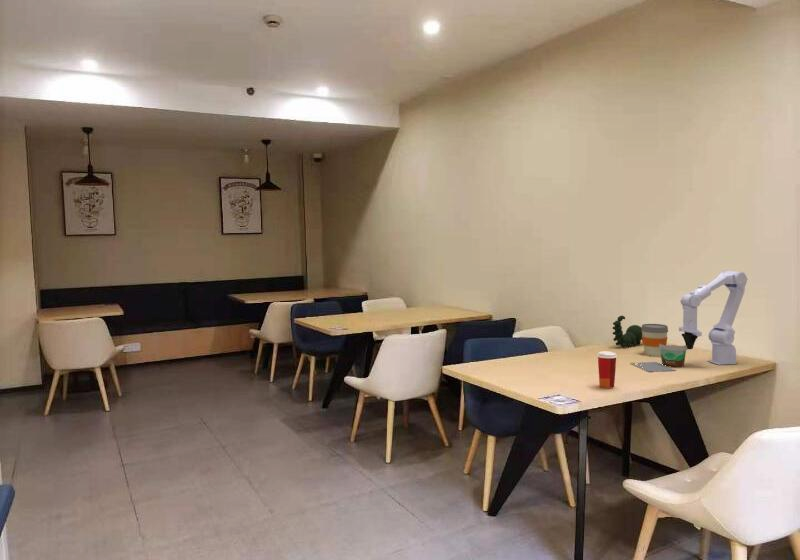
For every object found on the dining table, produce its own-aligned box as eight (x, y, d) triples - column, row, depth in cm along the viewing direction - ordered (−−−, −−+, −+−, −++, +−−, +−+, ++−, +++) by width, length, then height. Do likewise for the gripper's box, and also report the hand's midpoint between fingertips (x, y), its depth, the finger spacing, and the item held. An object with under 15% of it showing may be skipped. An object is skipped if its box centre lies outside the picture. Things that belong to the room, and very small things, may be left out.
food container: (657, 366, 261) (657, 345, 260) (658, 363, 266) (658, 343, 265) (687, 368, 255) (687, 347, 254) (687, 365, 260) (687, 344, 260)
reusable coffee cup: (635, 353, 289) (635, 325, 288) (652, 351, 294) (653, 322, 293) (655, 358, 278) (656, 328, 276) (673, 355, 283) (673, 326, 282)
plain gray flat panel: (655, 362, 269) (655, 361, 269) (675, 370, 252) (675, 370, 252) (629, 363, 268) (629, 362, 268) (648, 372, 251) (648, 371, 251)
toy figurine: (624, 353, 299) (651, 343, 312) (622, 318, 296) (650, 309, 310) (609, 350, 307) (636, 340, 320) (607, 316, 304) (634, 308, 318)
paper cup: (612, 383, 233) (612, 350, 232) (620, 388, 225) (620, 354, 224) (593, 384, 233) (593, 351, 232) (600, 389, 225) (601, 355, 224)
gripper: (673, 318, 266) (672, 346, 267) (691, 322, 251) (690, 352, 253) (687, 317, 266) (686, 345, 268) (706, 322, 252) (705, 351, 253)
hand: (689, 348), depth 260 cm, fingers closed
